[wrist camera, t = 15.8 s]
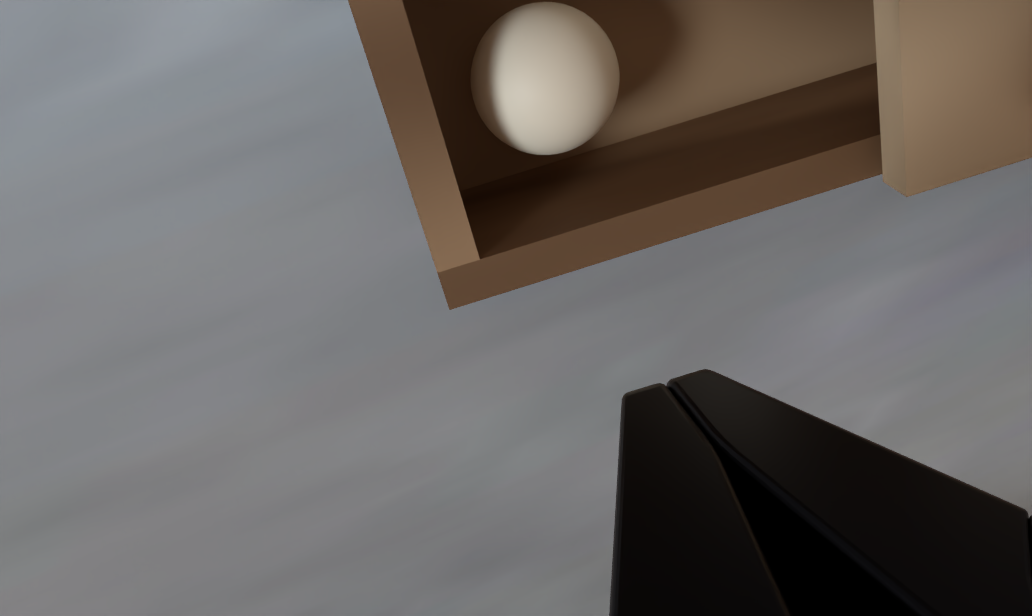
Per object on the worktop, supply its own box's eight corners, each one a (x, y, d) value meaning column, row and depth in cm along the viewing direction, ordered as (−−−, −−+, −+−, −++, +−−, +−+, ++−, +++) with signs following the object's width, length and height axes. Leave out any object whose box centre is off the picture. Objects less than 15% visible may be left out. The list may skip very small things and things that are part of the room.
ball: (609, 107, 20) (650, 149, 17) (481, 146, 20) (505, 194, 17) (581, -29, 18) (623, -3, 16) (443, 13, 18) (464, 45, 16)
